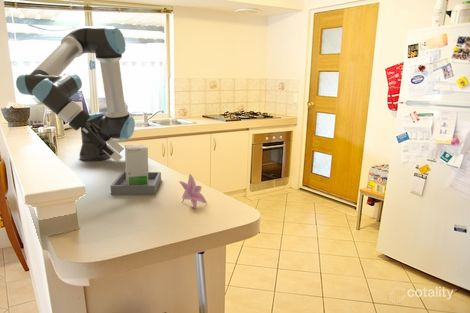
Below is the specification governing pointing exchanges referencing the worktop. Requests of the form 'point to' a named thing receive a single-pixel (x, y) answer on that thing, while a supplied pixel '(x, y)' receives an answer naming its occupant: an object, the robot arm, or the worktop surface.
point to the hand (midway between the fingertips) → (120, 155)
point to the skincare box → (136, 164)
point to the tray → (123, 189)
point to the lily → (192, 192)
